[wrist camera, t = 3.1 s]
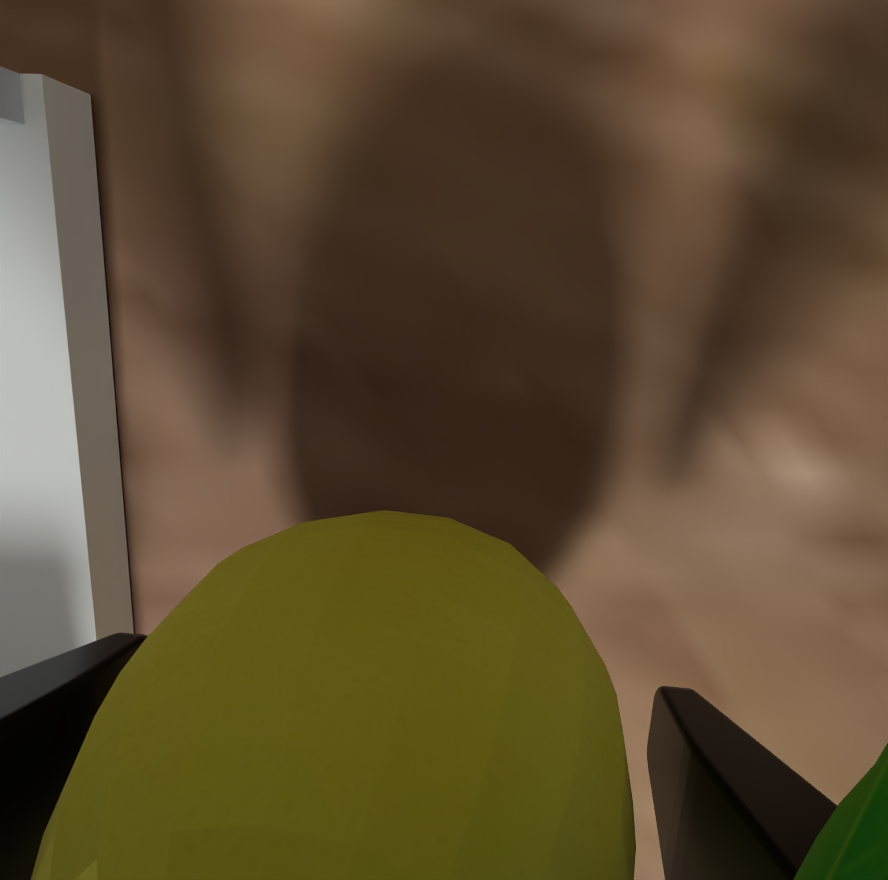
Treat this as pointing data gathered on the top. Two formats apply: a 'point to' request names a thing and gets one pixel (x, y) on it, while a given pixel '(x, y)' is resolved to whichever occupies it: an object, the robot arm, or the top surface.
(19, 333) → the white divided tray
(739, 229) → the top surface
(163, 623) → the lemon
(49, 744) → the robot arm
